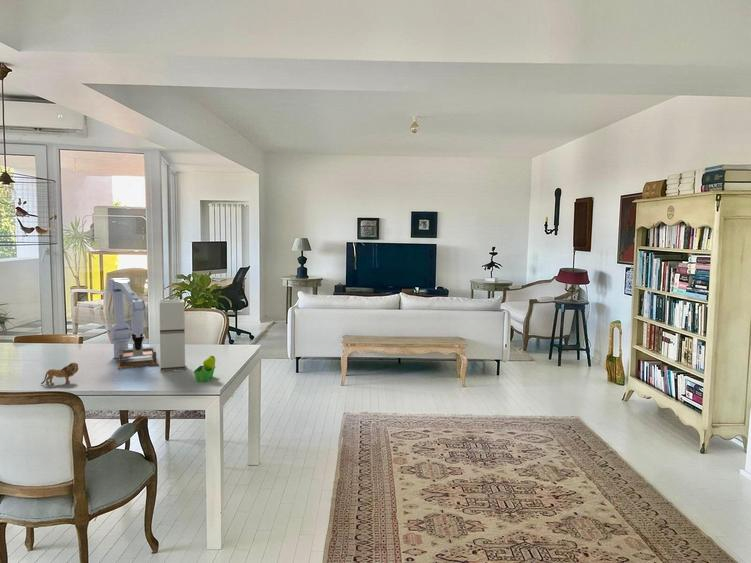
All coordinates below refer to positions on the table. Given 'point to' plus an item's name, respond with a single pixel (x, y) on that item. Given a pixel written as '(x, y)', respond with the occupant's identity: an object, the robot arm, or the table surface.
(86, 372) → the table surface
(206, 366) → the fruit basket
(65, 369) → the lion figurine
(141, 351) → the pale sage cube
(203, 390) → the table surface
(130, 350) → the trapdoor
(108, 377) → the table surface
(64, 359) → the table surface
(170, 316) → the striped white tower
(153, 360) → the frame
